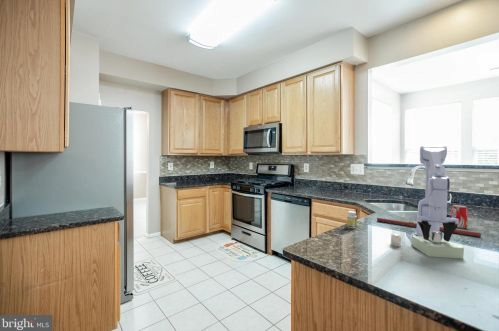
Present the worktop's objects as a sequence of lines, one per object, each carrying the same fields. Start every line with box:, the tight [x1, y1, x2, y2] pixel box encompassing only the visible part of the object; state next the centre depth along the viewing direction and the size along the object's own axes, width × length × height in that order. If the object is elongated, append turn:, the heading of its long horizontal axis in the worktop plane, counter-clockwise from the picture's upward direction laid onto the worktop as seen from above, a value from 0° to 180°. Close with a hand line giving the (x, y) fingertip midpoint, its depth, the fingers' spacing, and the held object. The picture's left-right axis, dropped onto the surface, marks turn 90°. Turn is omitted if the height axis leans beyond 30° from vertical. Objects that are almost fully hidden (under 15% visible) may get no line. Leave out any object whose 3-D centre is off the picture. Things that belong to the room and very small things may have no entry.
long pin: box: [430, 230, 443, 244], centre depth 97 cm, size 4×4×8 cm
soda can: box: [450, 204, 469, 229], centre depth 134 cm, size 7×7×12 cm
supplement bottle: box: [346, 210, 358, 229], centre depth 130 cm, size 5×5×8 cm
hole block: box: [411, 235, 465, 260], centre depth 97 cm, size 12×12×4 cm
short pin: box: [390, 233, 402, 248], centre depth 104 cm, size 4×4×4 cm
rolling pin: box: [376, 217, 482, 238], centre depth 131 cm, size 45×3×3 cm, turn 54°
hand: (436, 240), depth 97 cm, fingers open, 7 cm apart
